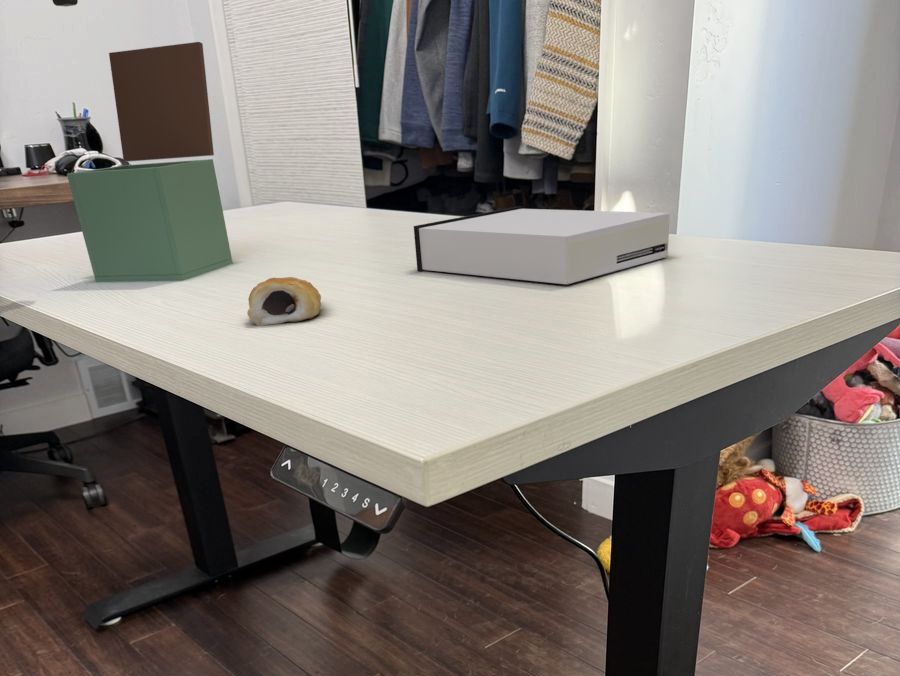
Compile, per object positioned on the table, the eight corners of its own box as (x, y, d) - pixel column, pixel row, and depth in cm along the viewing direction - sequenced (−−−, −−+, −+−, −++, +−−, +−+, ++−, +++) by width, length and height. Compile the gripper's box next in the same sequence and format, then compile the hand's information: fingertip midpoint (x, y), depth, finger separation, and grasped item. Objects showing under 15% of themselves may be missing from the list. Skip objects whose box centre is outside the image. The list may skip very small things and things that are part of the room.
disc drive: (519, 248, 110) (518, 205, 108) (668, 258, 95) (671, 209, 93) (416, 272, 100) (412, 226, 98) (565, 288, 85) (565, 234, 83)
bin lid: (198, 41, 105) (202, 43, 106) (108, 52, 110) (112, 54, 110) (210, 154, 110) (214, 155, 110) (123, 161, 114) (127, 161, 115)
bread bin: (183, 281, 107) (158, 167, 101) (95, 283, 112) (66, 173, 105) (233, 264, 117) (213, 159, 110) (150, 266, 121) (126, 165, 115)
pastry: (263, 308, 88) (256, 268, 87) (328, 303, 88) (323, 263, 86) (247, 328, 80) (240, 286, 78) (319, 323, 80) (313, 280, 78)
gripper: (32, -183, 92) (80, 12, 101) (-70, -215, 81) (-6, 6, 90) (88, -197, 89) (132, 4, 98) (-10, -232, 79) (49, -3, 88)
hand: (66, 5), depth 94 cm, fingers closed
